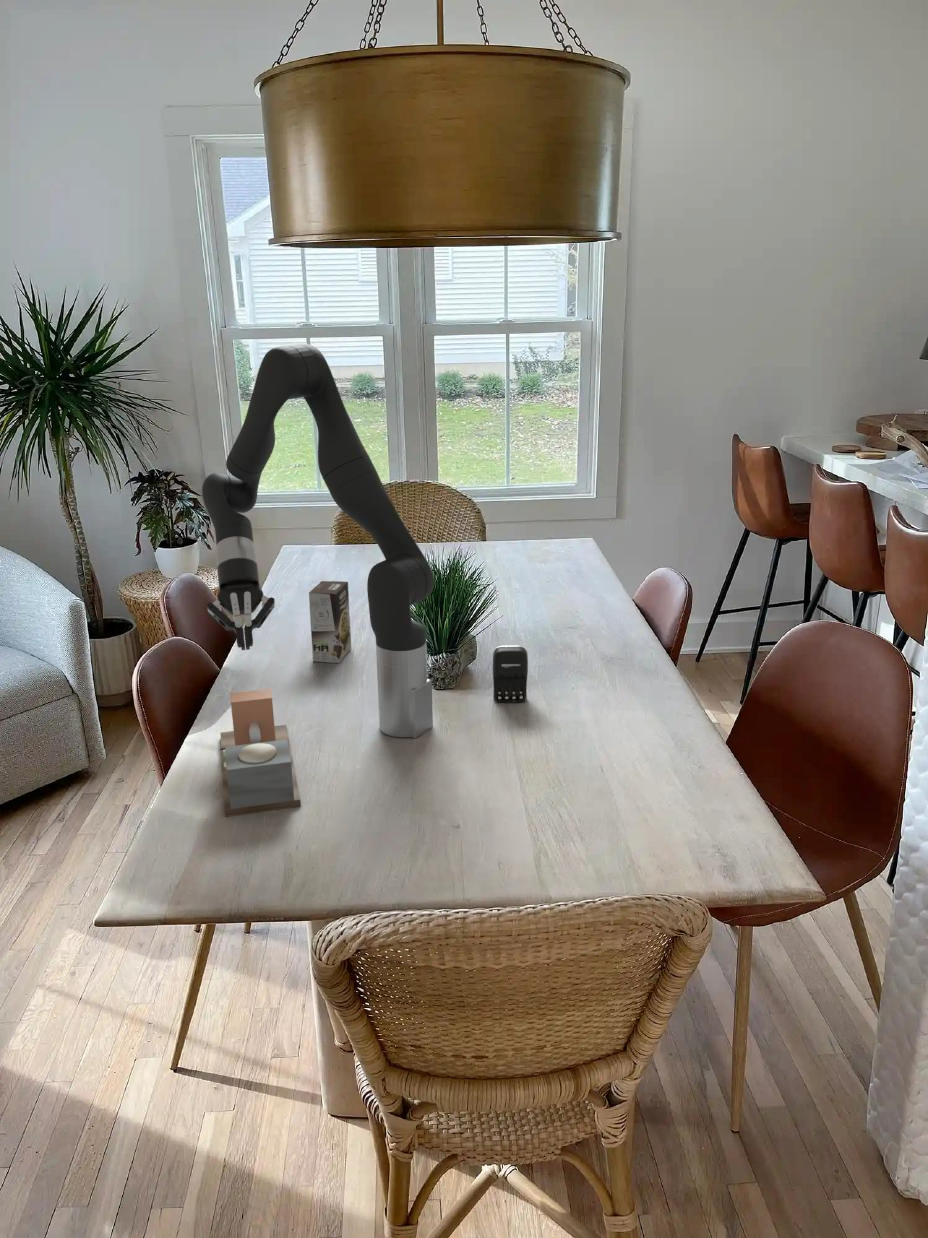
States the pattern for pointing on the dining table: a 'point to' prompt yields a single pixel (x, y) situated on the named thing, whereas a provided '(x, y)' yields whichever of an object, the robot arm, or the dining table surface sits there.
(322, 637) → the coffee box
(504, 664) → the black battery charger
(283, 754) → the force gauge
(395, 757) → the dining table surface
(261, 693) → the block on disc stand
